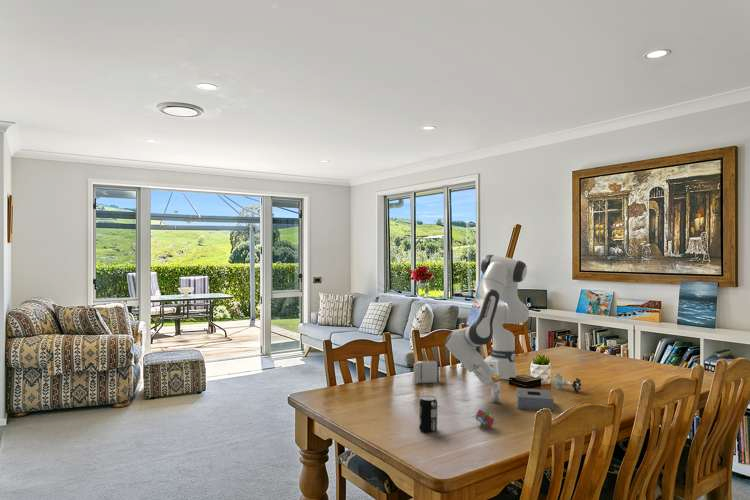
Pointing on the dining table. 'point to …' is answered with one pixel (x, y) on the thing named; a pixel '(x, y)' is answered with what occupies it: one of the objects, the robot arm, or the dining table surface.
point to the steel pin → (495, 390)
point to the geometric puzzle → (484, 419)
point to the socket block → (534, 399)
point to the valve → (566, 383)
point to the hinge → (426, 371)
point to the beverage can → (428, 414)
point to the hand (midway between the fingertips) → (496, 386)
